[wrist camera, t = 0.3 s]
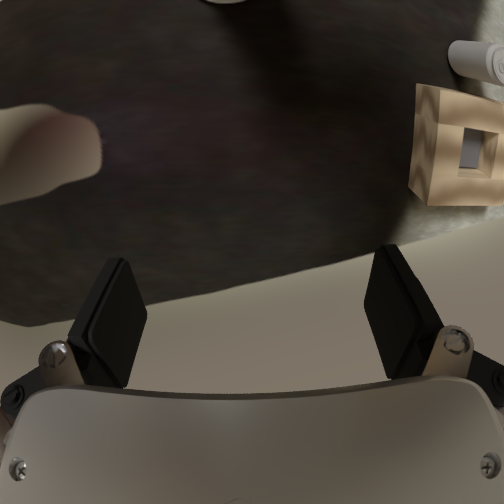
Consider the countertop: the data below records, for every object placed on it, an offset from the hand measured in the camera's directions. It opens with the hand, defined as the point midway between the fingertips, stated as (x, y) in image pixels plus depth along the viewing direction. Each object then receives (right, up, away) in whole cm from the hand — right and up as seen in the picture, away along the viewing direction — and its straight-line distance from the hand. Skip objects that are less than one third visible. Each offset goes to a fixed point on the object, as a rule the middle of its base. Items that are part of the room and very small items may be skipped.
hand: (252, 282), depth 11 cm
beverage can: (+34, +33, +22) cm, 52 cm away
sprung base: (+35, +19, +28) cm, 49 cm away
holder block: (+35, +20, +30) cm, 50 cm away
